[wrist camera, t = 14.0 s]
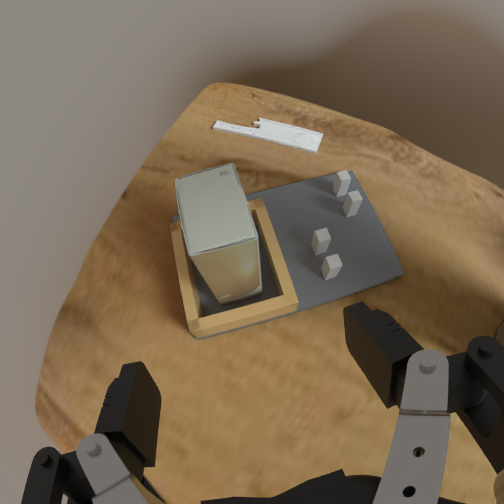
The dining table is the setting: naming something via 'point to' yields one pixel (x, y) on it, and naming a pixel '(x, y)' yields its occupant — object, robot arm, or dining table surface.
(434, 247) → the dining table surface
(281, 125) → the white plastic strip tool
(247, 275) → the skincare box
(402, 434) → the robot arm
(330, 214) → the board
